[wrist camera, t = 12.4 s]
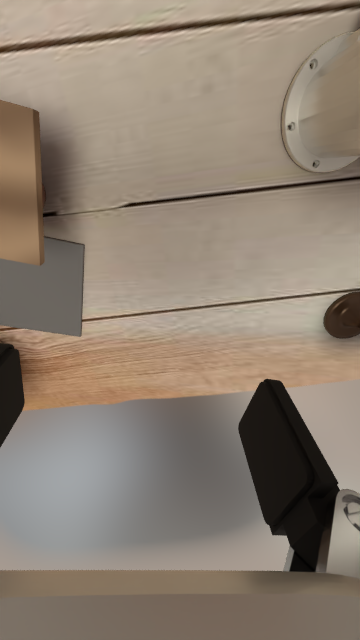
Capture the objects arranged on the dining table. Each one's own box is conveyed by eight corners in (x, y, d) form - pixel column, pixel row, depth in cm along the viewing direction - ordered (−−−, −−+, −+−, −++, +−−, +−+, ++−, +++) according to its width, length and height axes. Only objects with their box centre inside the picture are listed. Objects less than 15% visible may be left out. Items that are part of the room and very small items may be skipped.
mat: (-39, 219, 34) (-42, 220, 33) (84, 244, 36) (83, 245, 36) (-20, 320, 42) (-22, 322, 41) (81, 335, 44) (80, 336, 44)
